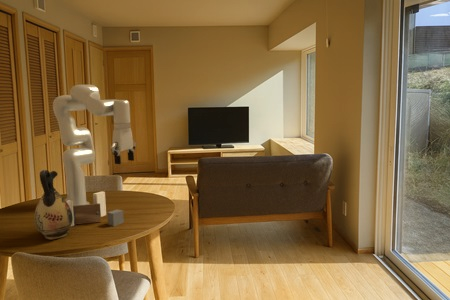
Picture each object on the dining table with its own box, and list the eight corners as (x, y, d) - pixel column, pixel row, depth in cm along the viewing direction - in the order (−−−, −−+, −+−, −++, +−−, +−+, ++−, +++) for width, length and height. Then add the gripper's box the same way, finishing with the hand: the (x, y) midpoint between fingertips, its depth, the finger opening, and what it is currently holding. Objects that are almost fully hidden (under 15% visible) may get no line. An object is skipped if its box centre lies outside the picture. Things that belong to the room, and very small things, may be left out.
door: (73, 223, 204) (71, 205, 203) (101, 220, 208) (99, 203, 206) (72, 225, 201) (71, 207, 200) (101, 222, 205) (99, 204, 203)
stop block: (108, 224, 202) (107, 212, 202) (117, 221, 207) (117, 209, 206) (113, 226, 200) (113, 213, 199) (123, 222, 205) (122, 210, 204)
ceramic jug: (44, 230, 196) (38, 165, 192) (78, 229, 196) (73, 164, 192) (28, 244, 179) (21, 173, 175) (65, 243, 179) (59, 172, 175)
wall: (62, 227, 200) (59, 202, 198) (103, 214, 219) (101, 191, 217) (65, 228, 198) (63, 203, 196) (106, 215, 218) (105, 191, 216)
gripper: (127, 124, 213) (129, 158, 215) (103, 128, 198) (106, 164, 200) (140, 124, 210) (142, 159, 212) (116, 128, 194) (118, 165, 197)
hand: (124, 162), depth 206 cm, fingers open, 9 cm apart
